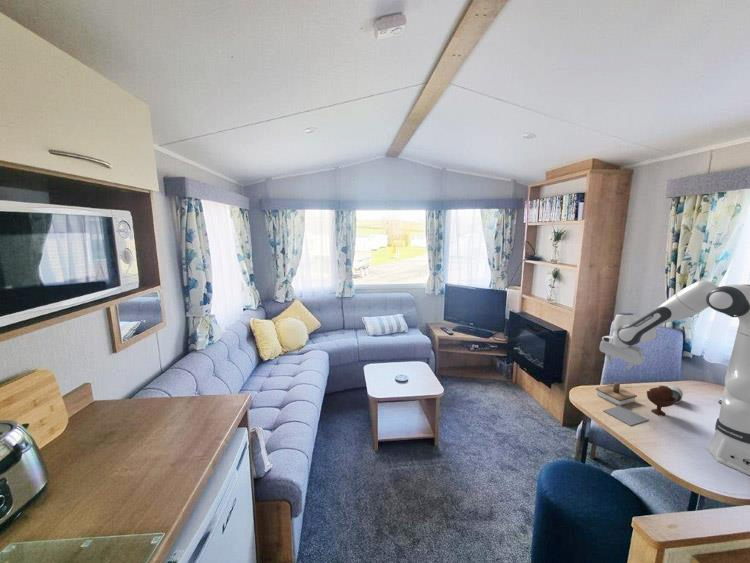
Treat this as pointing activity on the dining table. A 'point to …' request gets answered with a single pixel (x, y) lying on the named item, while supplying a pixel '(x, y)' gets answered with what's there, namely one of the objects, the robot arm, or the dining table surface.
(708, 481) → the dining table surface
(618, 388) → the lid
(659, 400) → the ice cream bowl
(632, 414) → the mat
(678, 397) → the ceramic mug
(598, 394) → the dish
